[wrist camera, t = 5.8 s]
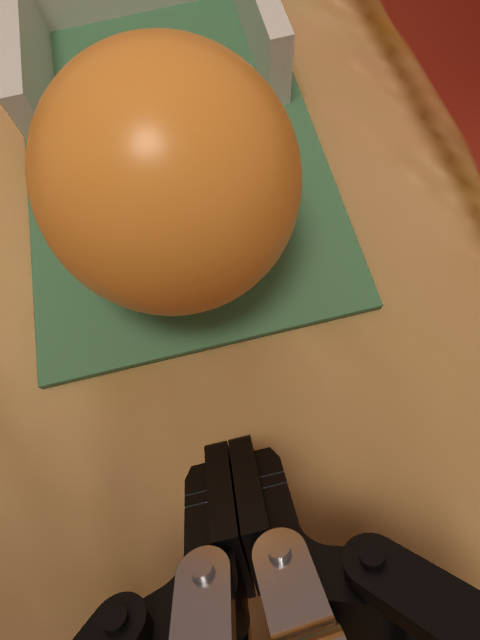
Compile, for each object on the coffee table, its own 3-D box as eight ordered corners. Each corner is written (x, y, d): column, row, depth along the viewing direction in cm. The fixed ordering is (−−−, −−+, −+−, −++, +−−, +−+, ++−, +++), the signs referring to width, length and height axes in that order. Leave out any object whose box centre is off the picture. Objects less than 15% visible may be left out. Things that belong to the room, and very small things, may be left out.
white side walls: (290, 103, 24) (294, 34, 20) (40, 159, 24) (-3, 98, 20) (243, -22, 28) (240, -99, 24) (30, 24, 28) (-6, -48, 24)
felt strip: (380, 308, 20) (382, 305, 19) (42, 388, 19) (38, 387, 19) (250, -30, 29) (250, -37, 29) (21, 19, 29) (18, 12, 28)
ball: (319, 320, 19) (370, 168, 10) (103, 371, 19) (-55, 265, 10) (265, 152, 23) (265, -75, 13) (83, 193, 22) (-46, -10, 13)
